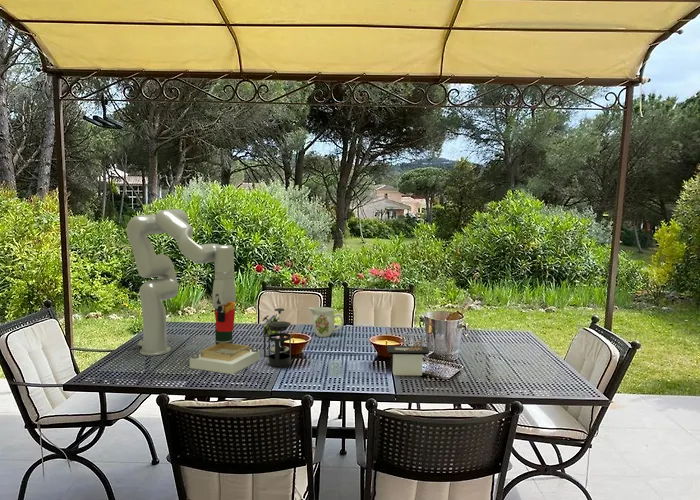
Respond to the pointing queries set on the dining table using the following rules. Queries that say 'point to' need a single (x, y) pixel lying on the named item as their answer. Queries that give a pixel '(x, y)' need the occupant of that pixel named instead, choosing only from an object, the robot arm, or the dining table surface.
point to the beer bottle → (223, 336)
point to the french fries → (226, 318)
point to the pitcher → (324, 321)
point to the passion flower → (265, 325)
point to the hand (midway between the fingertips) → (225, 319)
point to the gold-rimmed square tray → (225, 358)
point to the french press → (278, 344)
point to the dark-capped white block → (408, 358)
